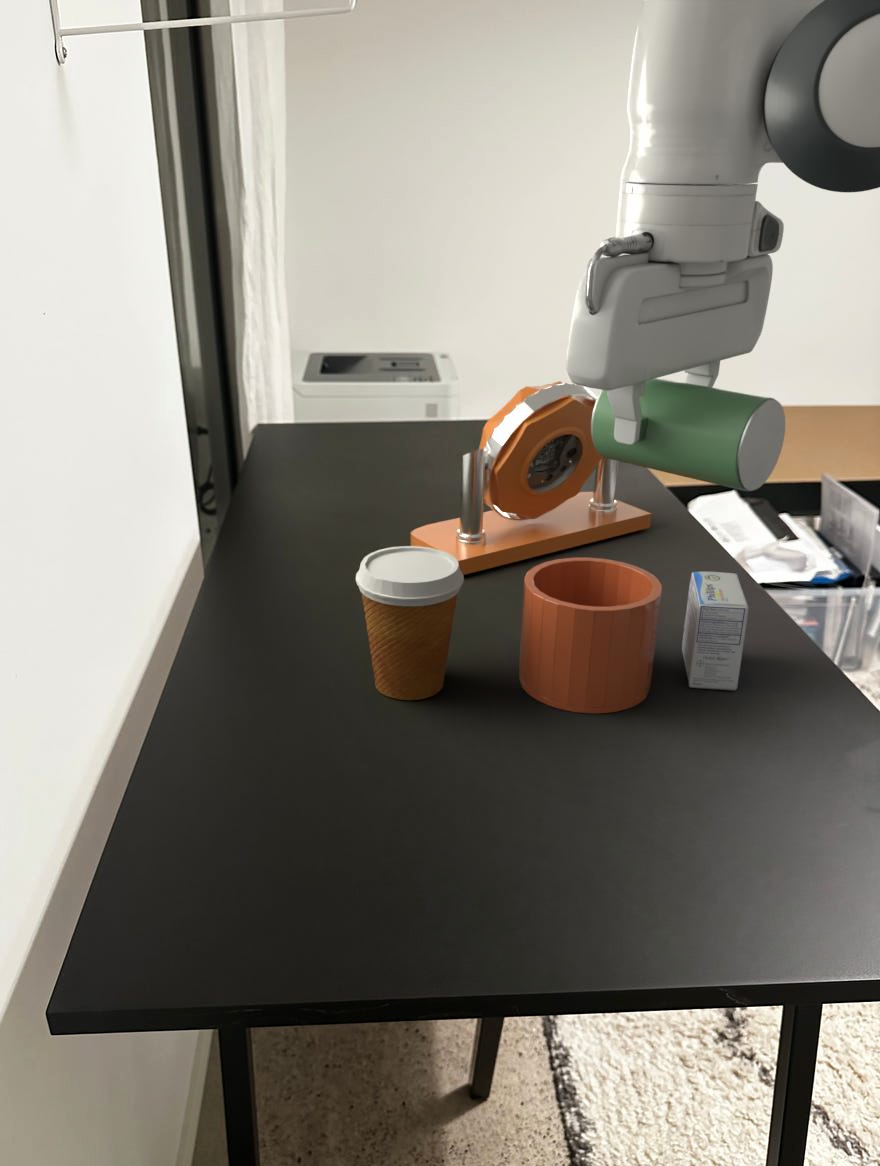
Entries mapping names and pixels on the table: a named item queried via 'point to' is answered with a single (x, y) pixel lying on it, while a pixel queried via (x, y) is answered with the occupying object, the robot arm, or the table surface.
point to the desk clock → (533, 485)
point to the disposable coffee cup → (409, 617)
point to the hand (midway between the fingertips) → (659, 431)
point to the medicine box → (714, 630)
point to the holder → (588, 634)
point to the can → (699, 433)
